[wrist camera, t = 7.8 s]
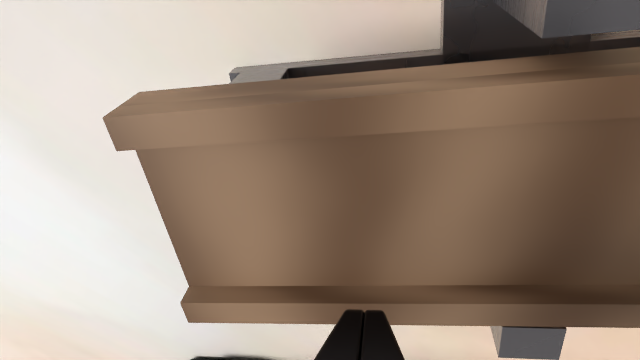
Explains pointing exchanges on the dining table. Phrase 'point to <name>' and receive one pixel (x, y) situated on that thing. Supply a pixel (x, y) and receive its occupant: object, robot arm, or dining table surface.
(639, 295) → the beam
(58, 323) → the dining table surface
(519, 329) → the stand
